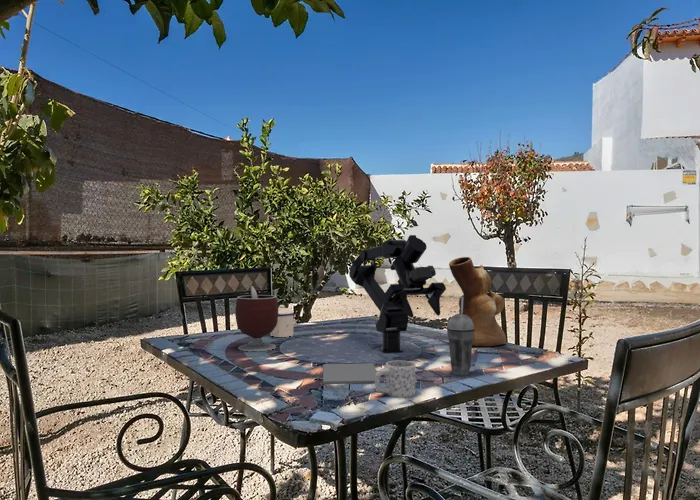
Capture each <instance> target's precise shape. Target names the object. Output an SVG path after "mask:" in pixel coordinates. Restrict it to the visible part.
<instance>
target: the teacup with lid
mask: <svg viewBox="0 0 700 500" xmlns="http://www.w3.org/2000/svg"><path fill="white" fill-rule="evenodd" d="M294 314H295V312H294V311H293V310H290V309H289V308H287V307H285V305H284V304H280V305H278V320H277V325H276V327H275V328H274V330H273V331H272V332H271V333H269V334H270V337H271V336H275V337H286V338H290V337H289V336H291V337H294ZM275 337H274V338H275Z"/></svg>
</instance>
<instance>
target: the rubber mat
mask: <svg viewBox="0 0 700 500" xmlns="http://www.w3.org/2000/svg"><path fill="white" fill-rule="evenodd" d="M376 372H378V371H377V368H376V367H375V365H374V362H373V363H323V364H322V384H323V385H344V384H345V385H347V384H350V385H352V384H375V376H376ZM381 383H382V382H381V379H380V384H381Z"/></svg>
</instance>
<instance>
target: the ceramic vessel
mask: <svg viewBox="0 0 700 500" xmlns="http://www.w3.org/2000/svg"><path fill="white" fill-rule="evenodd" d="M448 266H449V270H450V272H451V274H452V277H453V278H454V280H455V281H456V282H457V285H458V287H459V288H460V289H461V291H462V295H461V296H460V297H459V300H458V307H459V309H458V310H459V311H458V312H459V313H458V314H461V300H462V297H464V298H463V314H465V315H467V316H468V317H470V319H471V320H472V322H473V324H474V329H475V331H474V336H473V341H472V347H492V346H493V347H494V346H499V345H500V346H501V345H506V344H507V336H506V334H505V332H504V330H503V329H502V327H501V326H500V324H499V323H498V321H497V320H496V316H497V315H499V314H501V312H502V311H503V310H504V308H505V299H504V297H502V296H501V295H499V294H498V293H495V292H494V291H493V290H491V288H492V287H491V286H492V282H493V281H492V278H491V276H490V275H489V273H488V272H487V270H485V268H484V265H483V264H480V265H479V267H476V268H475V266H474V263H473V260H472V257H469V256H461V257H458V258H454V259H452V260H450V261H449V263H448Z"/></svg>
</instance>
